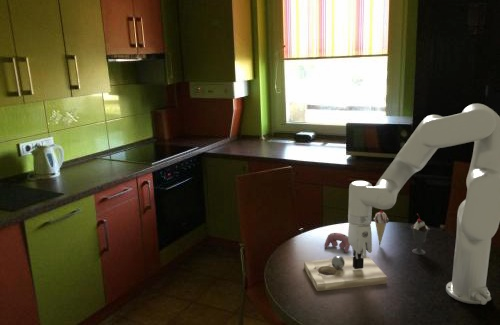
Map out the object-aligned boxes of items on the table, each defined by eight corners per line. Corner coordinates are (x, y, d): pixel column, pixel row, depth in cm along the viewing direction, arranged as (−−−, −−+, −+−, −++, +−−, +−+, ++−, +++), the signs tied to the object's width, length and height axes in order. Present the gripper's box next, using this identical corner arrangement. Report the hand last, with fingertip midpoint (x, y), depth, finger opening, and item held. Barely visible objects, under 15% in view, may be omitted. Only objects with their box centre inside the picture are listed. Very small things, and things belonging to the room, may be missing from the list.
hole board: (386, 283, 147) (386, 276, 146) (317, 291, 144) (317, 284, 143) (367, 261, 162) (367, 255, 162) (304, 267, 159) (304, 261, 158)
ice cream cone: (389, 245, 174) (391, 210, 171) (383, 250, 170) (384, 214, 167) (376, 241, 178) (378, 207, 175) (369, 246, 174) (371, 211, 170)
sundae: (412, 246, 173) (415, 210, 169) (430, 251, 169) (433, 214, 165) (406, 252, 168) (408, 216, 164) (424, 257, 164) (427, 220, 160)
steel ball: (336, 256, 150) (329, 267, 151) (347, 263, 150) (341, 273, 151) (335, 251, 154) (328, 261, 155) (346, 257, 154) (339, 268, 155)
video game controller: (350, 253, 172) (353, 235, 173) (347, 253, 168) (350, 234, 169) (326, 248, 177) (329, 231, 178) (322, 247, 173) (326, 230, 174)
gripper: (380, 225, 140) (377, 277, 145) (361, 209, 155) (359, 256, 159) (357, 227, 139) (355, 279, 144) (341, 211, 154) (340, 258, 158)
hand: (357, 267), depth 152 cm, fingers closed
